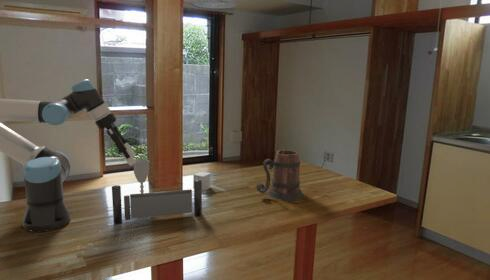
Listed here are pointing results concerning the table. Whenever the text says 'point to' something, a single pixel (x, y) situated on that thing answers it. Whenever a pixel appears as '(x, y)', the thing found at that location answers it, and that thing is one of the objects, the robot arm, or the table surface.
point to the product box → (203, 179)
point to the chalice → (141, 171)
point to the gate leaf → (158, 203)
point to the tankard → (283, 176)
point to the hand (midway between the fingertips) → (133, 160)
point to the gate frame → (118, 209)
